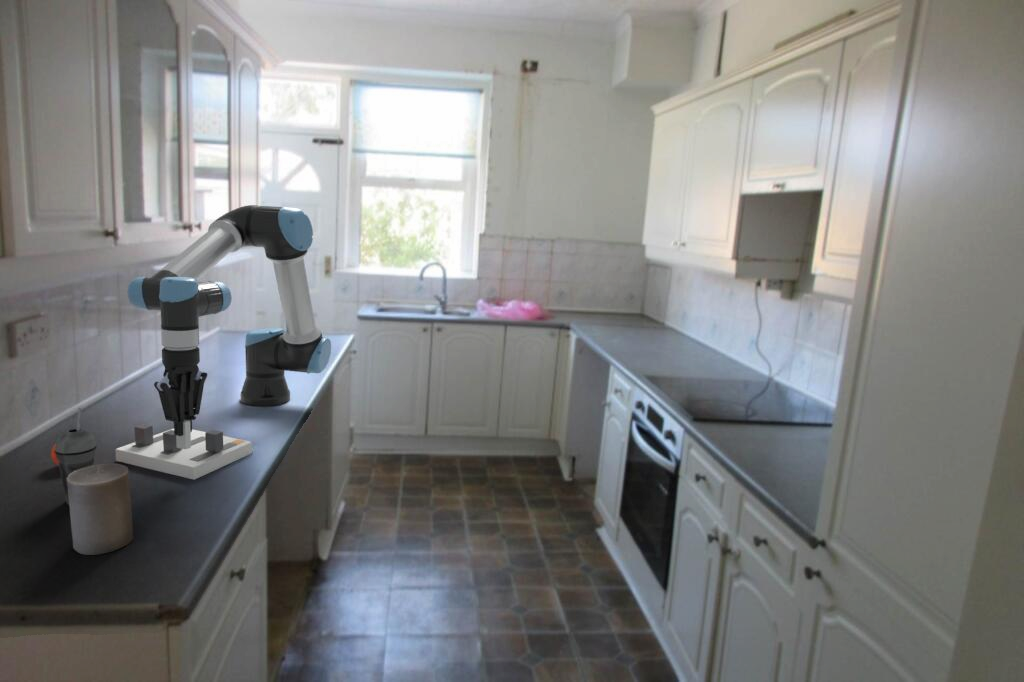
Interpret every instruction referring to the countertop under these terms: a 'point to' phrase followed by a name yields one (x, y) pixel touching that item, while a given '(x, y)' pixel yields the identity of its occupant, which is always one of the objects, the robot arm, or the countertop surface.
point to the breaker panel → (179, 453)
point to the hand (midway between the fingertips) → (183, 447)
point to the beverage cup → (74, 452)
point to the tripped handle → (214, 441)
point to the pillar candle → (100, 508)
